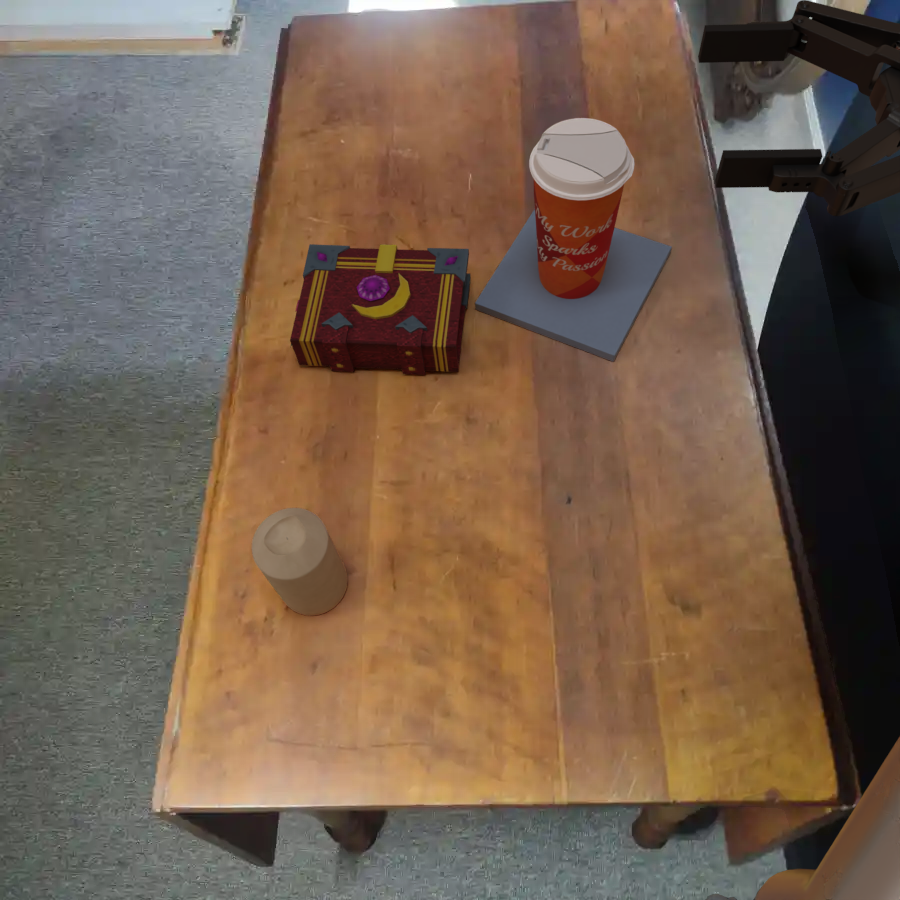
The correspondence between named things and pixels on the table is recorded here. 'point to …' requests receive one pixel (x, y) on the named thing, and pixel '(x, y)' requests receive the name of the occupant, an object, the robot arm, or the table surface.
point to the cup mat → (583, 319)
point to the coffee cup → (577, 202)
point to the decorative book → (382, 308)
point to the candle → (300, 561)
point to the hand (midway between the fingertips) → (709, 103)
